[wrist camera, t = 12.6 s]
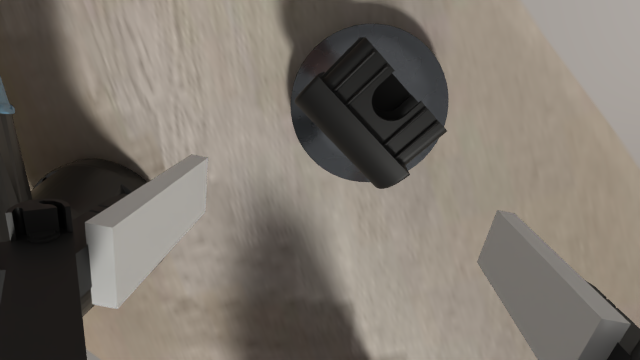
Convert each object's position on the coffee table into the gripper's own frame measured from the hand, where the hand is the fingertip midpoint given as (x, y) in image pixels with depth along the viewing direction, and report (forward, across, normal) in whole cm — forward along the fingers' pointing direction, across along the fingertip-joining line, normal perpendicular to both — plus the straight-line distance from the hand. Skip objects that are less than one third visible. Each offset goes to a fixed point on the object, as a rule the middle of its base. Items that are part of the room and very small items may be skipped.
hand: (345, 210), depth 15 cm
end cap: (+17, +1, +2) cm, 18 cm away
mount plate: (+19, +2, +2) cm, 19 cm away
